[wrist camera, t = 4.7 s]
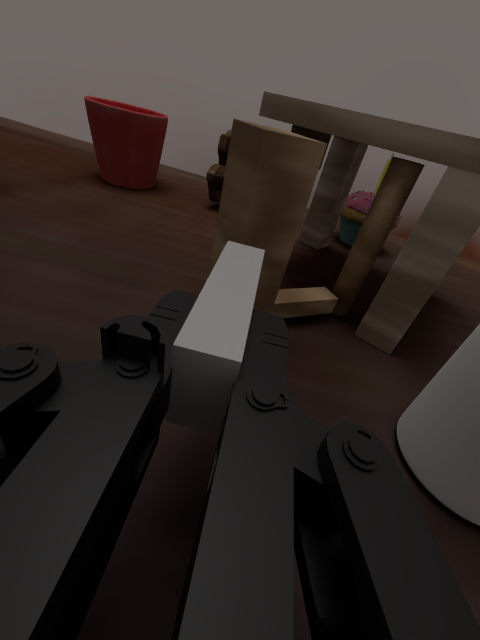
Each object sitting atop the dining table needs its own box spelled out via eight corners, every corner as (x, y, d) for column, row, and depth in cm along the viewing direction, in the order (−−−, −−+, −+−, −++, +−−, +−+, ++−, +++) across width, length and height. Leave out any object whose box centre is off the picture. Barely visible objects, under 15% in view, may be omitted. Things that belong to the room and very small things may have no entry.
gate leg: (332, 298, 27) (397, 157, 21) (357, 321, 25) (441, 169, 18) (203, 308, 22) (233, 118, 15) (219, 338, 19) (264, 129, 13)
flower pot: (173, 184, 50) (178, 115, 44) (148, 198, 41) (150, 115, 35) (113, 168, 50) (110, 98, 44) (74, 179, 41) (65, 93, 35)
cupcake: (328, 227, 48) (360, 144, 41) (379, 242, 47) (421, 160, 40) (327, 243, 41) (365, 147, 34) (387, 261, 40) (439, 166, 33)
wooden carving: (229, 216, 42) (244, 136, 36) (200, 207, 43) (210, 126, 37) (256, 196, 55) (270, 135, 50) (234, 189, 56) (245, 128, 50)
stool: (389, 355, 23) (530, 150, 15) (229, 261, 30) (263, 91, 22) (432, 294, 34) (523, 161, 26) (309, 237, 42) (351, 120, 34)
